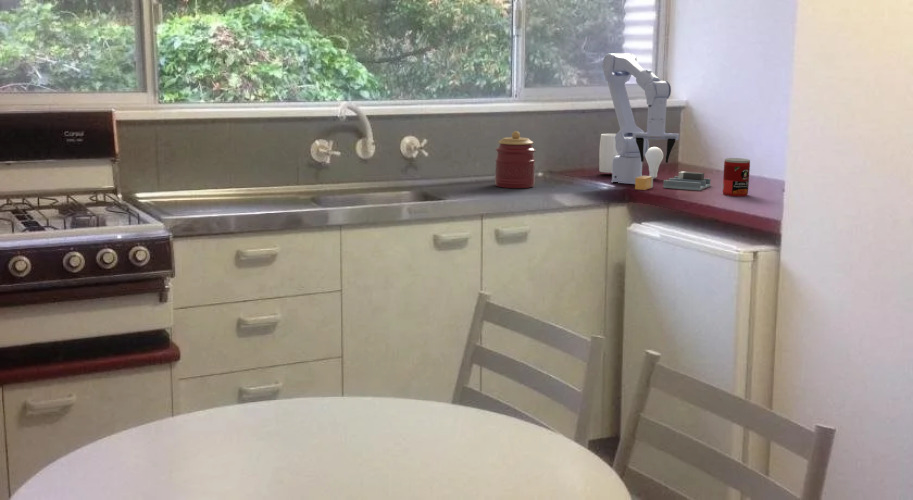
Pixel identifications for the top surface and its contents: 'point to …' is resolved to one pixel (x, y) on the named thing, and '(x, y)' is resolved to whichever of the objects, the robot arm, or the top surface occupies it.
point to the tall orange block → (644, 182)
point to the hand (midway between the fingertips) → (654, 162)
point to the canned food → (736, 176)
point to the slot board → (686, 183)
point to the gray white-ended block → (691, 175)
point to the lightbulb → (654, 160)
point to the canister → (515, 162)
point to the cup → (607, 152)
